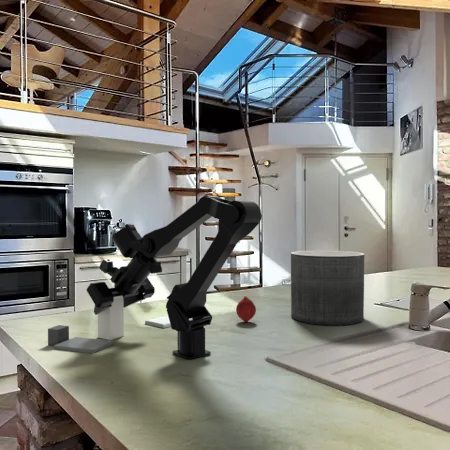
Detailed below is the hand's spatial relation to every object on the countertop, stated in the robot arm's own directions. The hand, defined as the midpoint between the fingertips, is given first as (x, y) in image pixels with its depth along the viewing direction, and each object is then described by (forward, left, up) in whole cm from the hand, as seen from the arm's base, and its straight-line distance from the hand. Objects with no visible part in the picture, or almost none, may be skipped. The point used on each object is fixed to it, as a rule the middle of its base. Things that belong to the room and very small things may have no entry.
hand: (107, 310), depth 119 cm
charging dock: (-4, +10, -7) cm, 12 cm away
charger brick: (-1, 0, -7) cm, 7 cm away
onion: (-12, -38, -7) cm, 41 cm away
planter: (-24, -61, -7) cm, 66 cm away
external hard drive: (+2, -21, -7) cm, 23 cm away
